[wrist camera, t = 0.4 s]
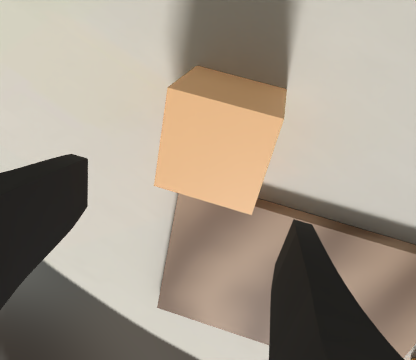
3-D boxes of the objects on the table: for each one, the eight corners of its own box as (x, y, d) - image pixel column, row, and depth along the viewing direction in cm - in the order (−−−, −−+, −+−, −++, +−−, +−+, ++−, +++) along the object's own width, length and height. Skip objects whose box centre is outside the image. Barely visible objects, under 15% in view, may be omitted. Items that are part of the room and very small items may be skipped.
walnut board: (470, 261, 20) (477, 273, 19) (378, 370, 26) (381, 382, 26) (184, 176, 22) (180, 184, 21) (161, 298, 28) (157, 307, 27)
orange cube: (286, 88, 18) (284, 118, 14) (260, 168, 21) (251, 215, 16) (197, 65, 18) (167, 87, 14) (182, 146, 21) (153, 185, 17)
